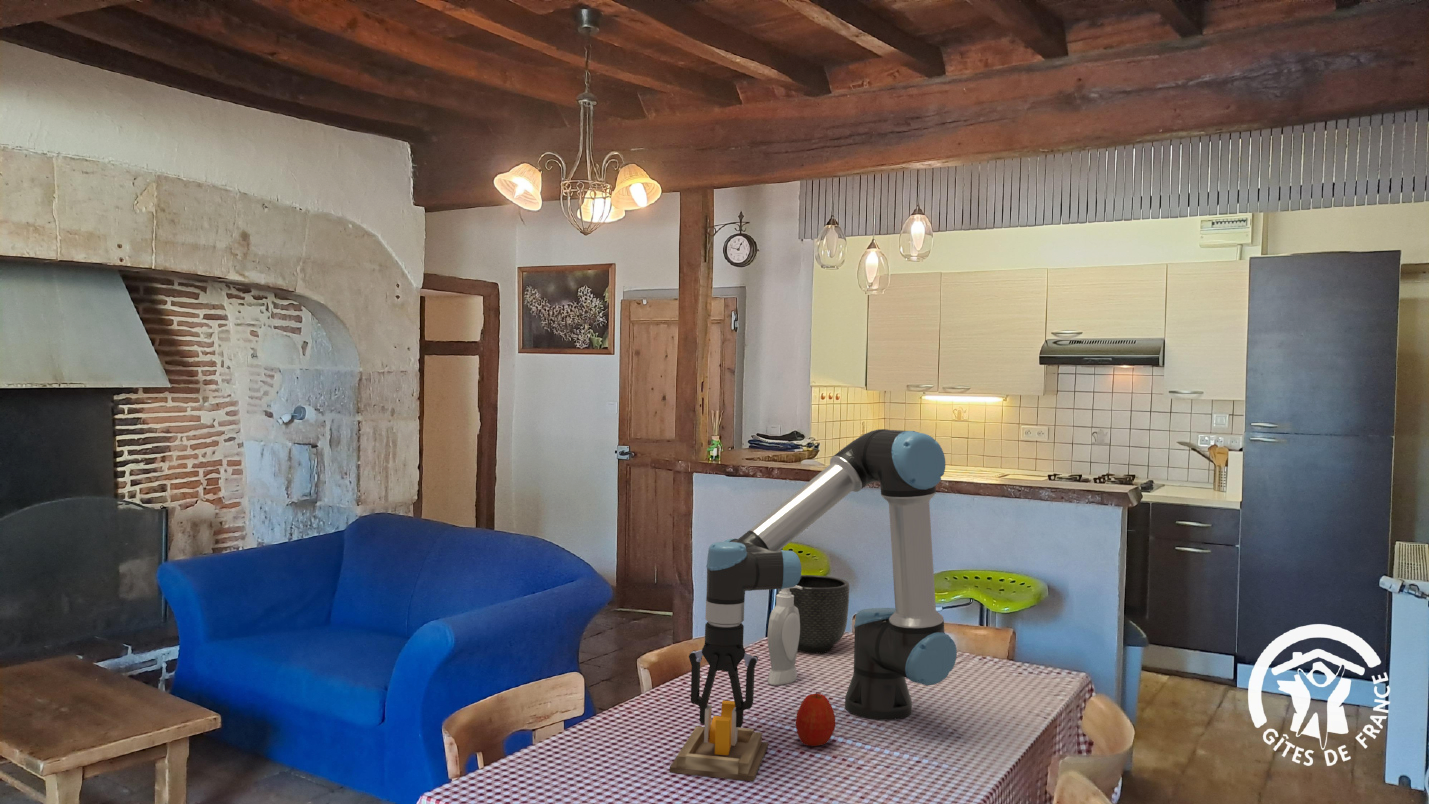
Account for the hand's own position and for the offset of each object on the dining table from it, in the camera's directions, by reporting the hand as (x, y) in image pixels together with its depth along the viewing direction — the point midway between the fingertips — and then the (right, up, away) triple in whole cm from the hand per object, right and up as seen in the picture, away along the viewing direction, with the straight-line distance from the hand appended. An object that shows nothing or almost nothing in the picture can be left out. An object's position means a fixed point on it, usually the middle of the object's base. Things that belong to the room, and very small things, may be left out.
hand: (720, 741), depth 189 cm
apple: (+19, -4, +10) cm, 22 cm away
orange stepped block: (0, -1, 0) cm, 1 cm away
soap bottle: (+17, -4, +52) cm, 55 cm away
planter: (+26, -4, +85) cm, 89 cm away
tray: (0, -4, 0) cm, 4 cm away
